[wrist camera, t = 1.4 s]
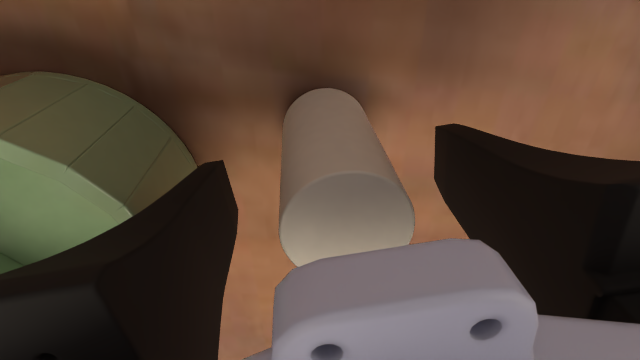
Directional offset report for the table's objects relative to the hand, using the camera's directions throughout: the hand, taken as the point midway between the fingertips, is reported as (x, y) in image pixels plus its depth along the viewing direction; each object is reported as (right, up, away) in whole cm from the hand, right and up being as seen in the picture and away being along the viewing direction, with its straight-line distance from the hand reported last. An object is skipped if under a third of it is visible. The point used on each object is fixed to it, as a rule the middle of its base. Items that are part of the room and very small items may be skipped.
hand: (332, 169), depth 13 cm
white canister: (0, +2, +3) cm, 4 cm away
